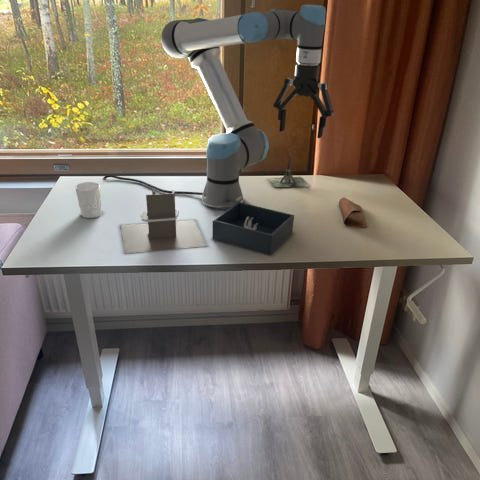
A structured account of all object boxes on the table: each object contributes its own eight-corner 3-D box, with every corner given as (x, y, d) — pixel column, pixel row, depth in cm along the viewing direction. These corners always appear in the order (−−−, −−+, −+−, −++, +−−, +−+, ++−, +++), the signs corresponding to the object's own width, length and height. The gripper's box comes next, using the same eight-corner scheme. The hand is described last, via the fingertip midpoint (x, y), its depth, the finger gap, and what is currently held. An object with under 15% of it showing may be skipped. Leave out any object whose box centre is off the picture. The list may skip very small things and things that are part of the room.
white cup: (107, 212, 176) (104, 184, 170) (93, 220, 170) (89, 192, 164) (89, 207, 179) (85, 180, 173) (74, 215, 173) (70, 187, 167)
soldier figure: (264, 230, 170) (266, 235, 158) (253, 240, 171) (254, 245, 159) (249, 213, 168) (249, 216, 156) (238, 222, 169) (238, 227, 157)
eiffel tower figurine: (300, 177, 211) (304, 145, 203) (309, 186, 203) (313, 153, 195) (266, 179, 208) (268, 146, 200) (273, 188, 200) (276, 154, 192)
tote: (212, 239, 162) (212, 220, 158) (237, 219, 175) (238, 201, 171) (270, 255, 155) (272, 235, 151) (292, 233, 168) (294, 215, 164)
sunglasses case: (368, 226, 173) (361, 210, 170) (349, 235, 175) (342, 219, 172) (360, 205, 188) (354, 190, 184) (343, 214, 190) (336, 199, 187)
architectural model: (120, 225, 168) (115, 183, 159) (194, 219, 174) (193, 178, 165) (125, 253, 152) (120, 207, 144) (206, 246, 158) (206, 201, 150)
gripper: (266, 60, 158) (262, 130, 171) (342, 70, 149) (332, 142, 162) (276, 57, 164) (271, 125, 176) (350, 66, 155) (339, 137, 167)
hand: (300, 133), depth 169 cm, fingers open, 13 cm apart
